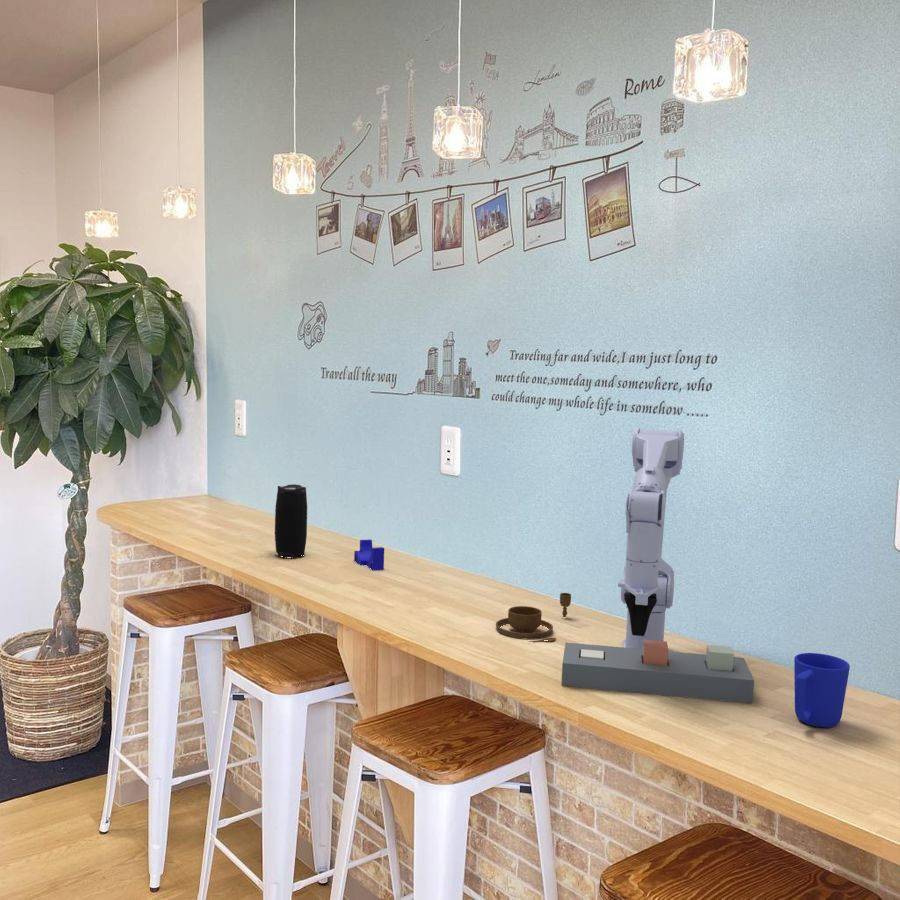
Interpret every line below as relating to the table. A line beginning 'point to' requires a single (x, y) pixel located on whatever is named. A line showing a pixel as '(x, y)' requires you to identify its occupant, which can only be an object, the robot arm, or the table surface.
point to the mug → (820, 688)
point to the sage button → (719, 658)
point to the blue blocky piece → (370, 555)
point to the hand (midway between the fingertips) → (638, 634)
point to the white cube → (592, 654)
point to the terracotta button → (655, 652)
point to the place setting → (530, 621)
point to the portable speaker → (291, 520)
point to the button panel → (656, 674)
